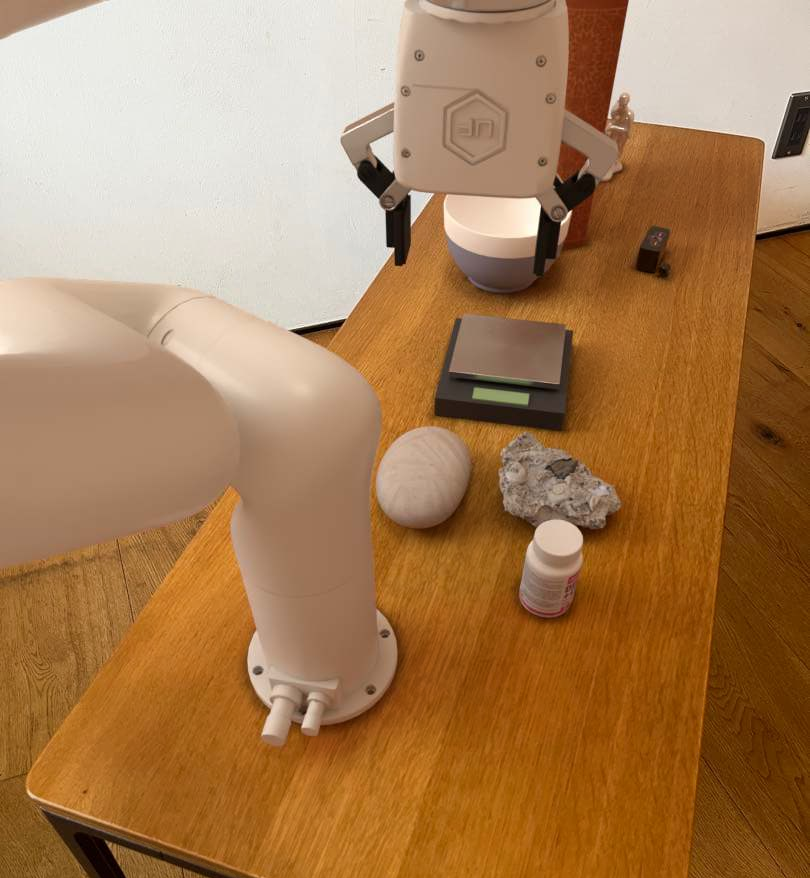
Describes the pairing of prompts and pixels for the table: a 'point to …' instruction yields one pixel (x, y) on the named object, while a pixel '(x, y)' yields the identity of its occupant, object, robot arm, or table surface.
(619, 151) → the figurine
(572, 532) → the pill bottle
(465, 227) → the bowl
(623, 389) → the table surface
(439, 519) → the decorative stone
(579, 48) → the book
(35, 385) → the robot arm
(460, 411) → the scale
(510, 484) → the mineral specimen
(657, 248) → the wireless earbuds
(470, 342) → the scale pan
